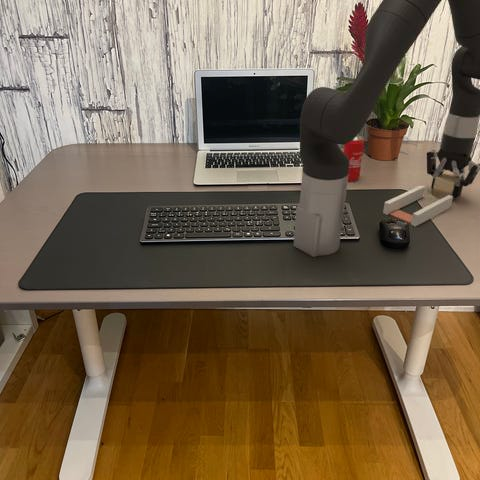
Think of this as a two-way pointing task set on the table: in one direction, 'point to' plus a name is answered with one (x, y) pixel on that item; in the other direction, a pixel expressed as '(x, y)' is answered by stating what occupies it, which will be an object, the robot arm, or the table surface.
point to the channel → (419, 215)
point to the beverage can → (354, 157)
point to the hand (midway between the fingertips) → (444, 194)
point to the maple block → (444, 185)
